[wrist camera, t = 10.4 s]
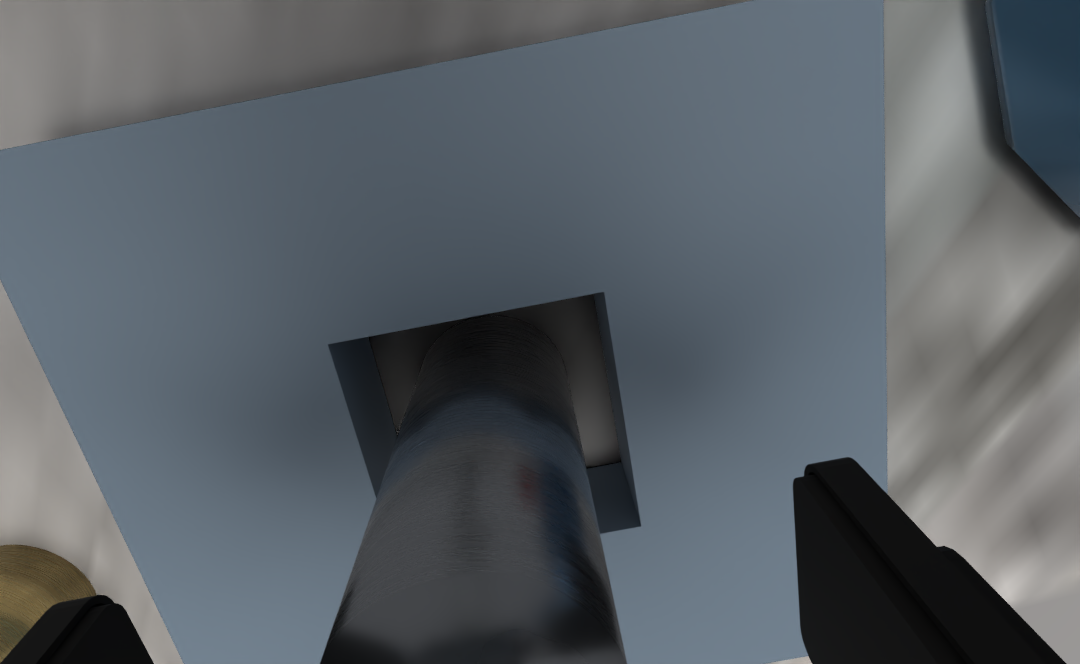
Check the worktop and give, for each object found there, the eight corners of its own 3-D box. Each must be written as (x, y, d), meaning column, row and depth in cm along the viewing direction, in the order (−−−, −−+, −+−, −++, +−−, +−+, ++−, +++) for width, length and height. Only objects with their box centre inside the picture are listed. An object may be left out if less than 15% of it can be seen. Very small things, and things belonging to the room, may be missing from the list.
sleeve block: (49, 151, 15) (-56, 161, 12) (812, -1, 15) (883, -26, 12) (268, 668, 20) (229, 758, 18) (835, 566, 20) (889, 641, 17)
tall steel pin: (403, 331, 17) (270, 610, 8) (553, 302, 17) (606, 548, 8) (438, 462, 18) (362, 839, 9) (578, 436, 18) (650, 788, 9)
